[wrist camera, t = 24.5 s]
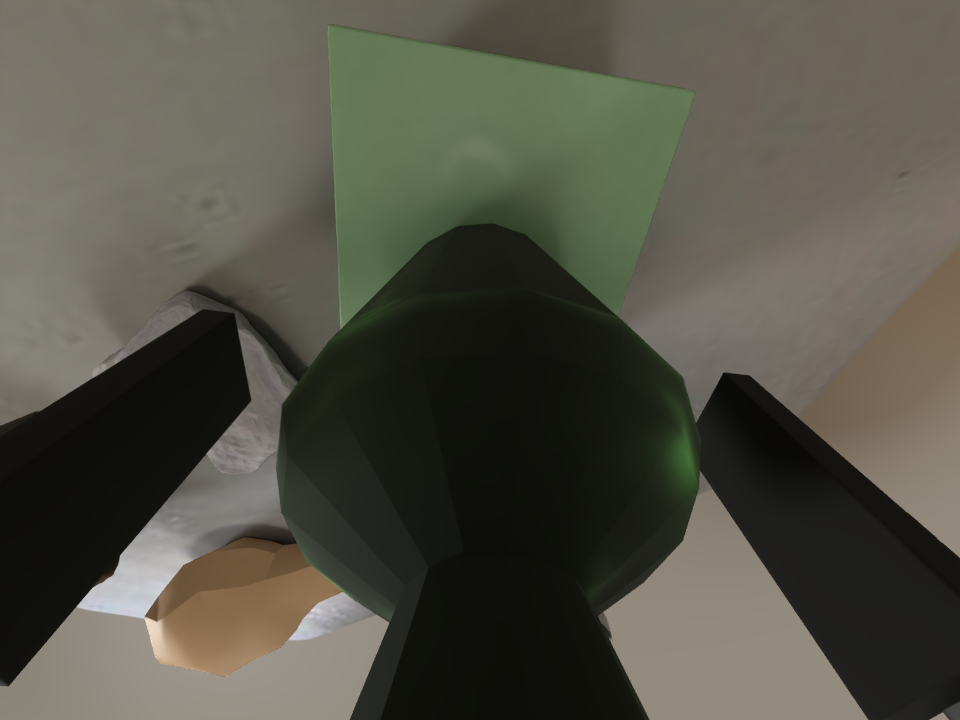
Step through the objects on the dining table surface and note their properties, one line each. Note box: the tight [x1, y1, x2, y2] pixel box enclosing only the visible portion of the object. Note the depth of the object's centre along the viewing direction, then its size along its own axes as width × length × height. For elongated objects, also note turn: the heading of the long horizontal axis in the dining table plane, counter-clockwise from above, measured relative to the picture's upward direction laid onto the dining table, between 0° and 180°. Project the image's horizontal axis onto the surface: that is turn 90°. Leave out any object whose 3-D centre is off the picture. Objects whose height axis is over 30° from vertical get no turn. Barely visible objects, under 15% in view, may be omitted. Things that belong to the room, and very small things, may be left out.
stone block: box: [92, 291, 298, 474], centre depth 26 cm, size 12×5×10 cm
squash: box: [145, 537, 343, 677], centre depth 35 cm, size 11×20×9 cm, turn 112°
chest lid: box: [327, 24, 696, 329], centre depth 16 cm, size 15×12×1 cm
